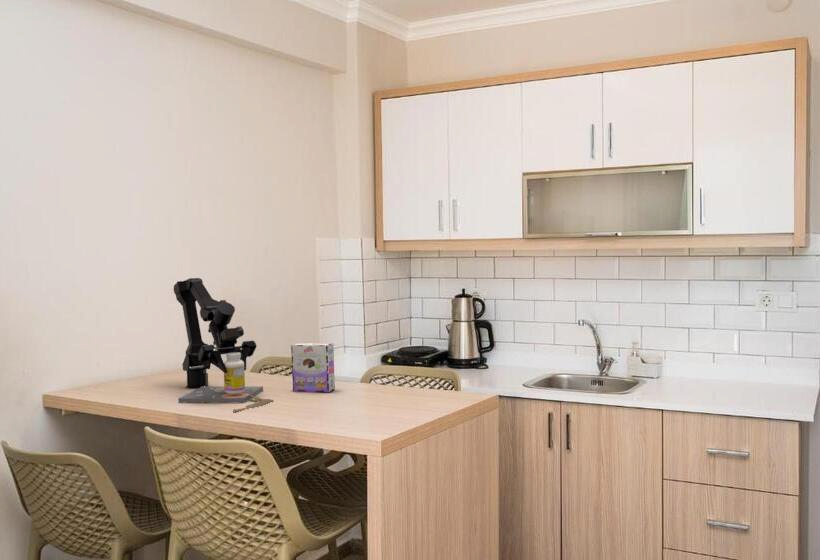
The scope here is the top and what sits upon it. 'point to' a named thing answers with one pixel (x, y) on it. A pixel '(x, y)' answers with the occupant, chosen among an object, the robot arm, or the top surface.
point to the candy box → (313, 367)
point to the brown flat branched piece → (259, 403)
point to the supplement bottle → (234, 374)
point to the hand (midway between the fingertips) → (235, 371)
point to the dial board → (219, 395)
